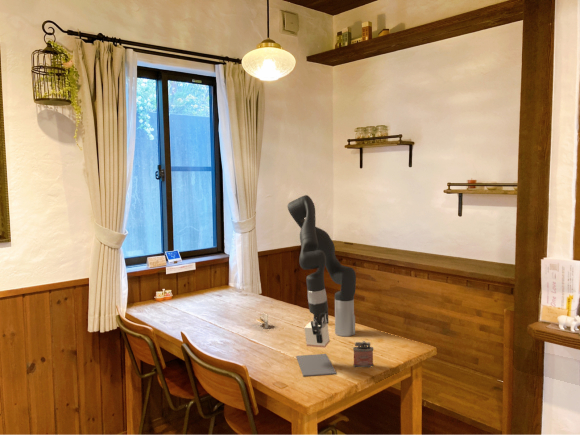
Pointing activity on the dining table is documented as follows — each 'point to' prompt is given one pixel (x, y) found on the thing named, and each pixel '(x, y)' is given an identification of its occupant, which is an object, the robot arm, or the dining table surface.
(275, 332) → the dining table surface
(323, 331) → the block
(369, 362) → the lighter
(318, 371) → the mat
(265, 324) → the architectural model
